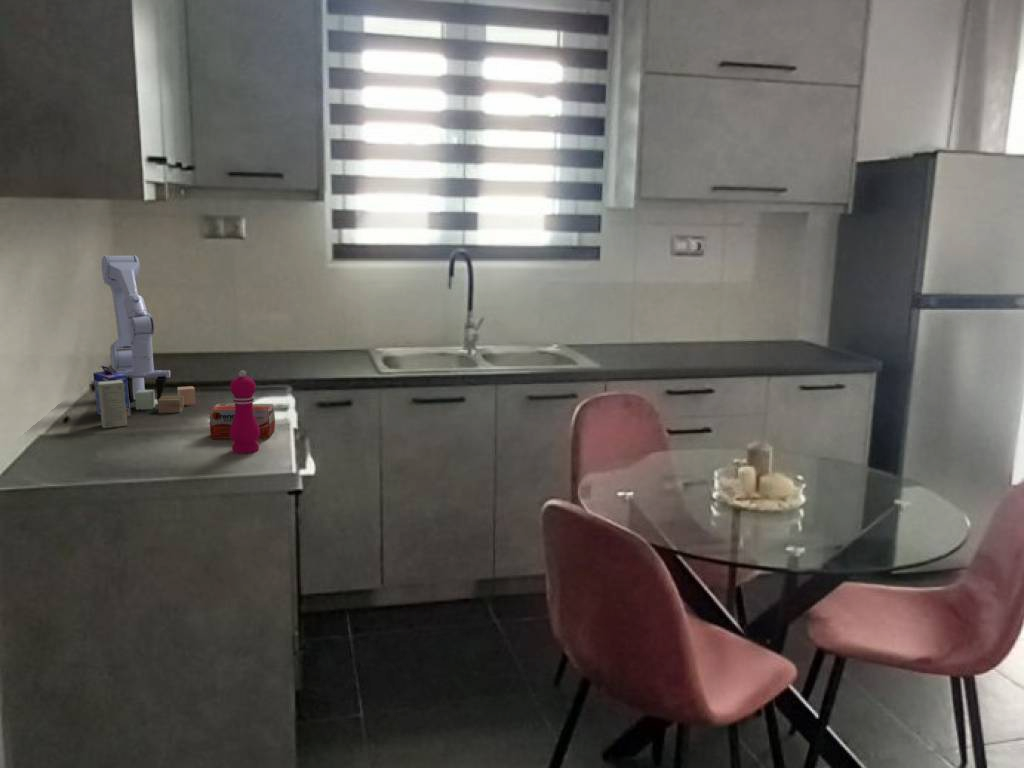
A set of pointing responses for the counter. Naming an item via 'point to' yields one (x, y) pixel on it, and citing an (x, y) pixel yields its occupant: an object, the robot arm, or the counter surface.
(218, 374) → the counter surface
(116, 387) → the skincare box
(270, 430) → the medicine box
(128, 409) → the ink cartridge box
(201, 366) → the counter surface
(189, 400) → the clay block
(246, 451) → the pepper mill
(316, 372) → the counter surface
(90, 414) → the counter surface
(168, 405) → the base block
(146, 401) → the sage block
